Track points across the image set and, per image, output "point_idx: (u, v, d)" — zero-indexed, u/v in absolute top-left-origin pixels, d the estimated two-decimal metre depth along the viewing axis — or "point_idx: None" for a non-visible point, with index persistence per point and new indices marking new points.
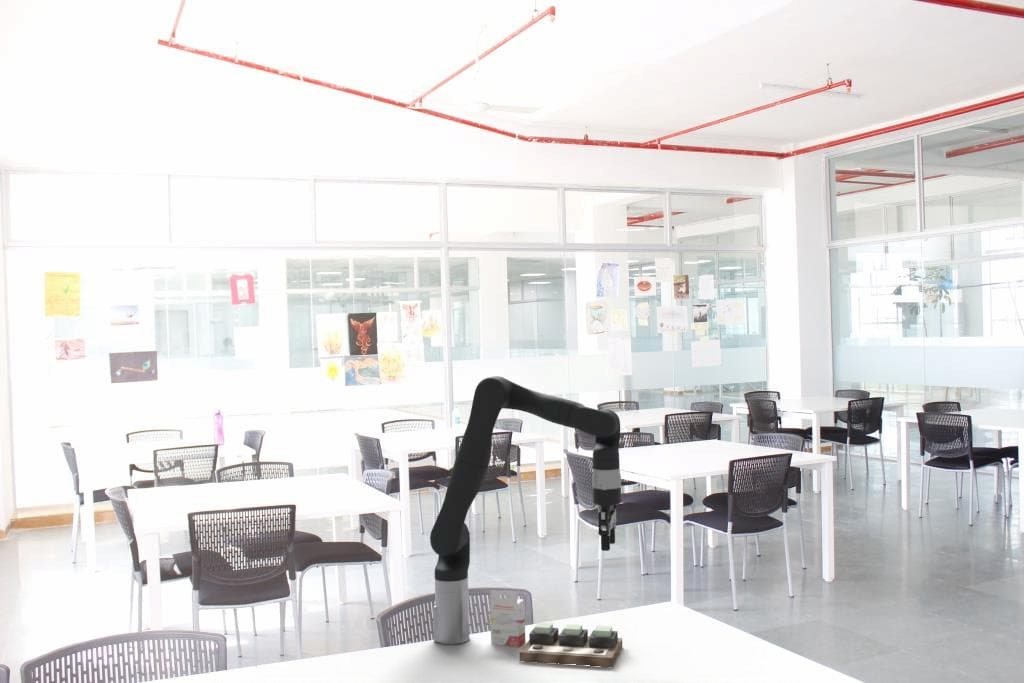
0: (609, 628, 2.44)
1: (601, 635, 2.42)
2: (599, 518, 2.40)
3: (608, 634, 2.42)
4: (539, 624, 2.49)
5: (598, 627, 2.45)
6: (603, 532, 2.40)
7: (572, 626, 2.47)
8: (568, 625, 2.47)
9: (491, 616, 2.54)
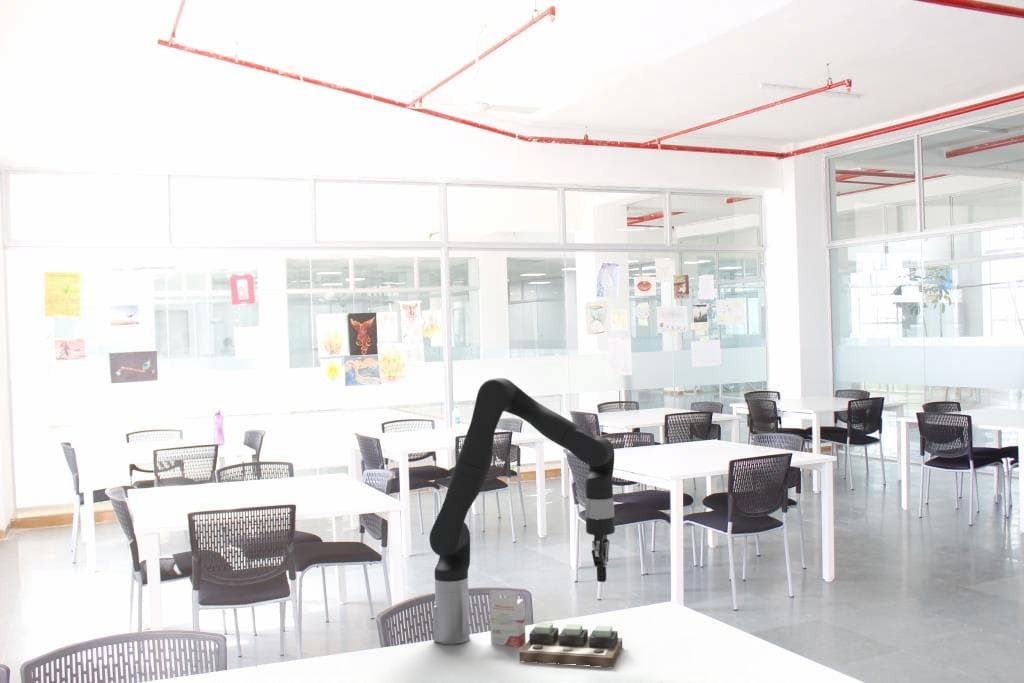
0: (609, 628, 2.44)
1: (601, 635, 2.42)
2: (593, 556, 2.39)
3: (608, 634, 2.42)
4: (539, 624, 2.49)
5: (598, 627, 2.45)
6: (599, 564, 2.41)
7: (572, 626, 2.47)
8: (568, 625, 2.47)
9: (491, 616, 2.54)
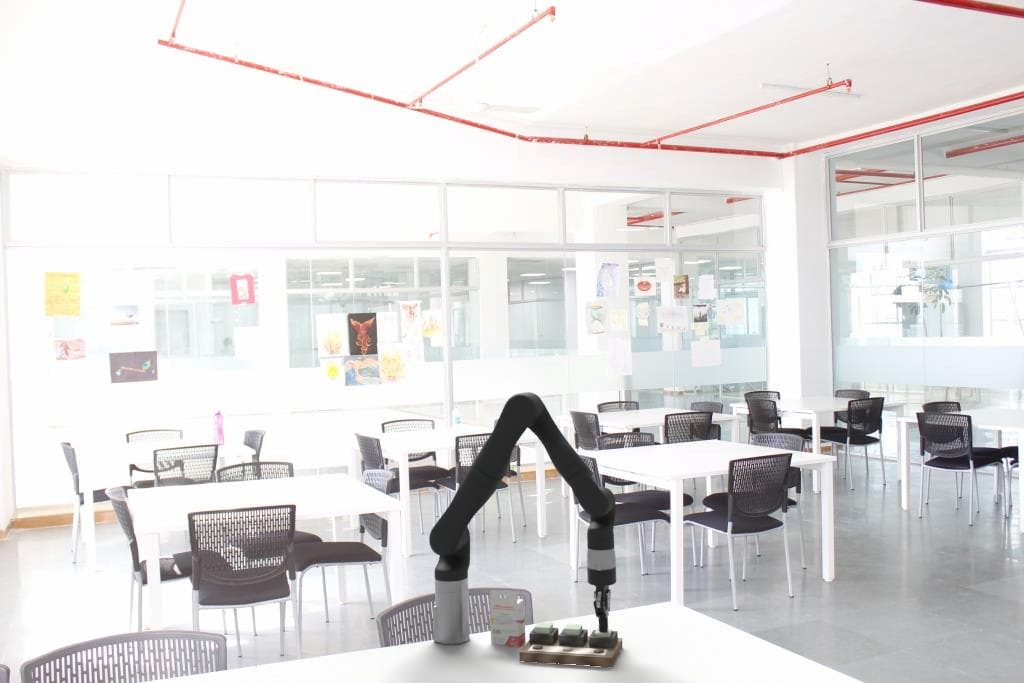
0: (609, 631, 2.44)
1: None
2: (595, 607, 2.39)
3: None
4: (539, 624, 2.49)
5: None
6: (600, 614, 2.41)
7: (572, 626, 2.47)
8: (568, 625, 2.47)
9: (491, 616, 2.54)
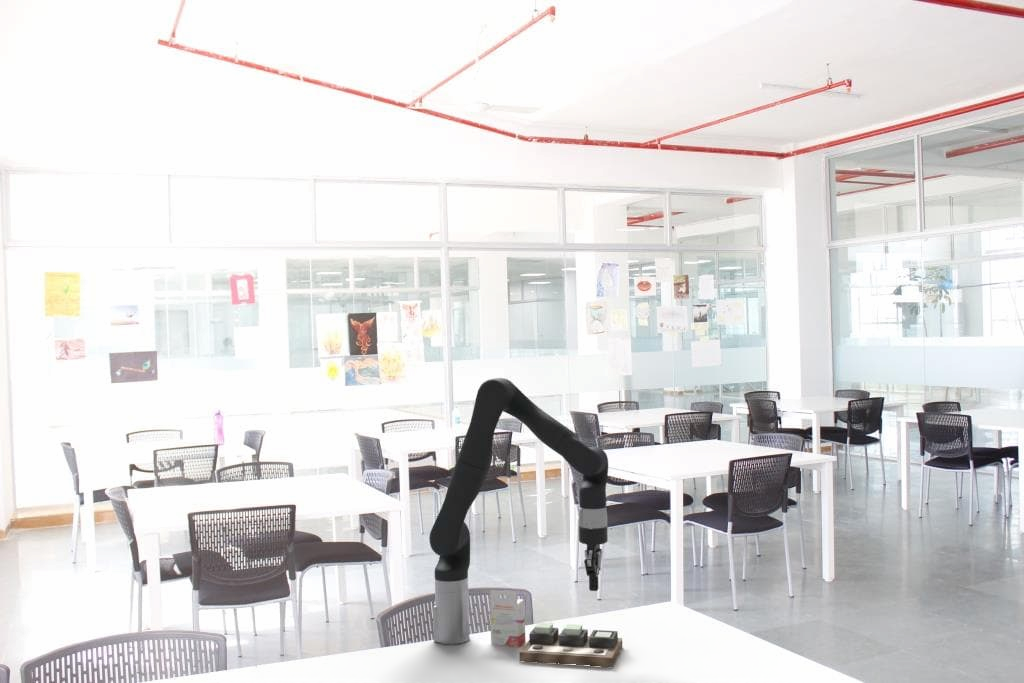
0: (609, 634, 2.44)
1: None
2: (586, 566, 2.40)
3: None
4: (539, 624, 2.49)
5: (599, 633, 2.45)
6: (591, 573, 2.42)
7: (572, 626, 2.47)
8: (568, 625, 2.47)
9: (491, 616, 2.54)
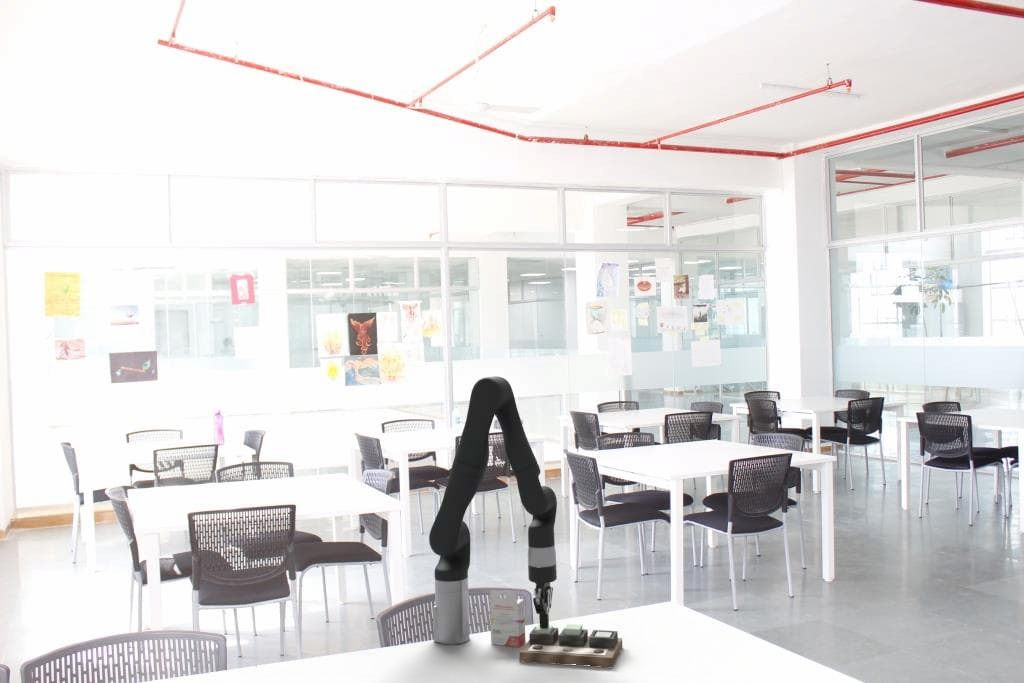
0: (609, 634, 2.44)
1: None
2: (535, 604, 2.43)
3: None
4: (539, 626, 2.49)
5: (599, 633, 2.45)
6: (540, 611, 2.45)
7: (572, 626, 2.47)
8: (568, 625, 2.47)
9: (491, 616, 2.54)
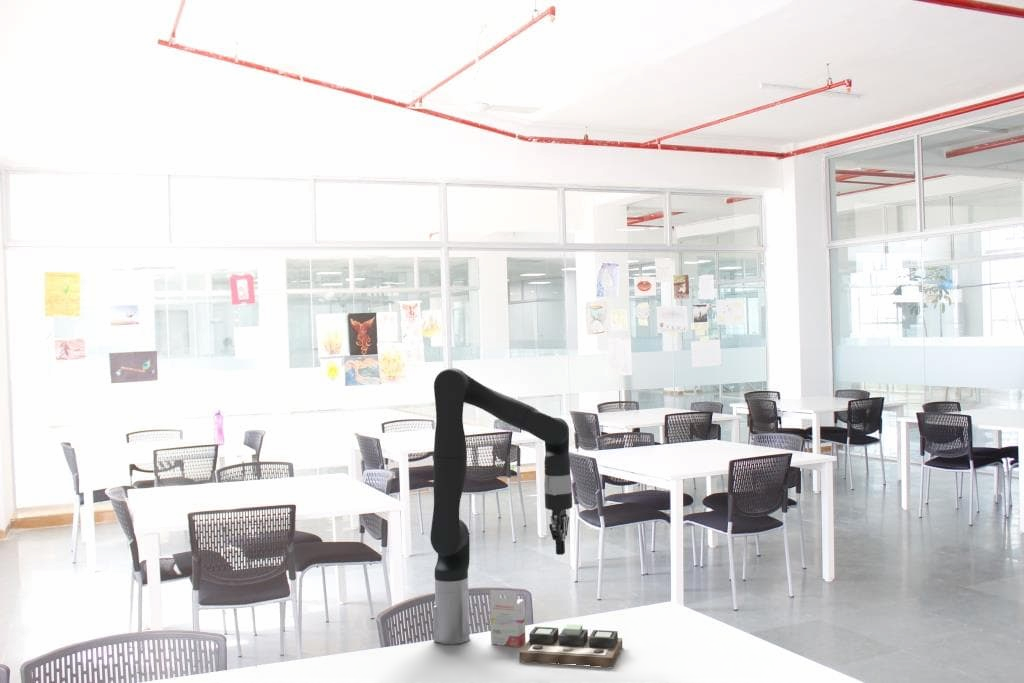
0: (609, 634, 2.44)
1: None
2: (551, 530, 2.51)
3: None
4: (539, 630, 2.49)
5: (599, 633, 2.45)
6: (556, 537, 2.53)
7: (572, 626, 2.47)
8: (568, 625, 2.47)
9: (491, 616, 2.54)
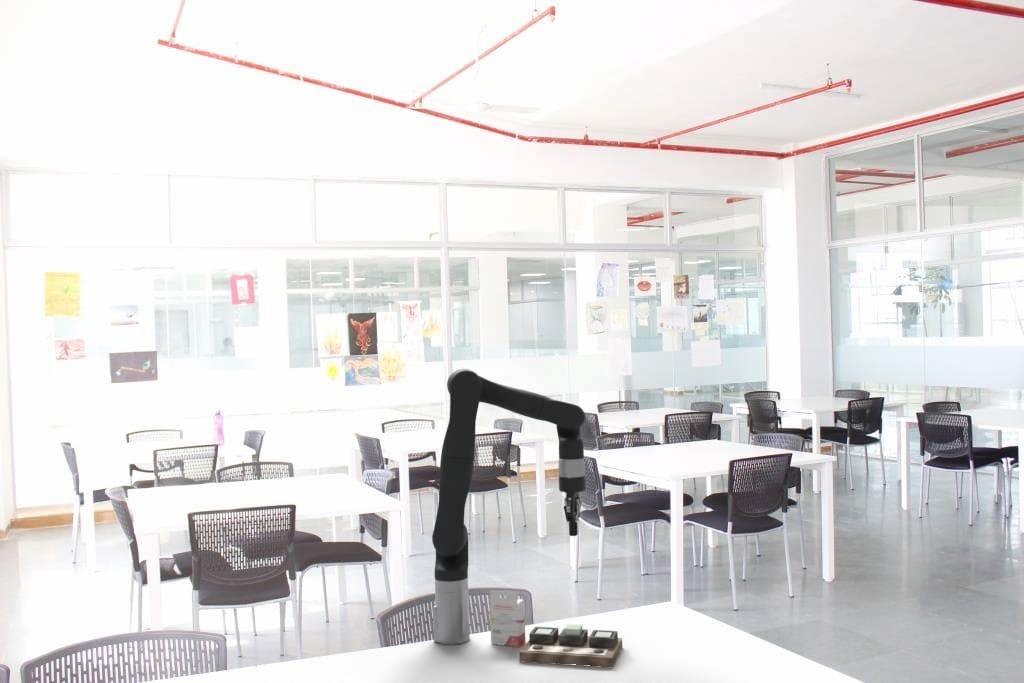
0: (609, 634, 2.44)
1: None
2: (565, 512, 2.59)
3: None
4: (539, 630, 2.49)
5: (599, 633, 2.45)
6: (570, 519, 2.61)
7: (572, 626, 2.47)
8: (568, 625, 2.47)
9: (491, 616, 2.54)
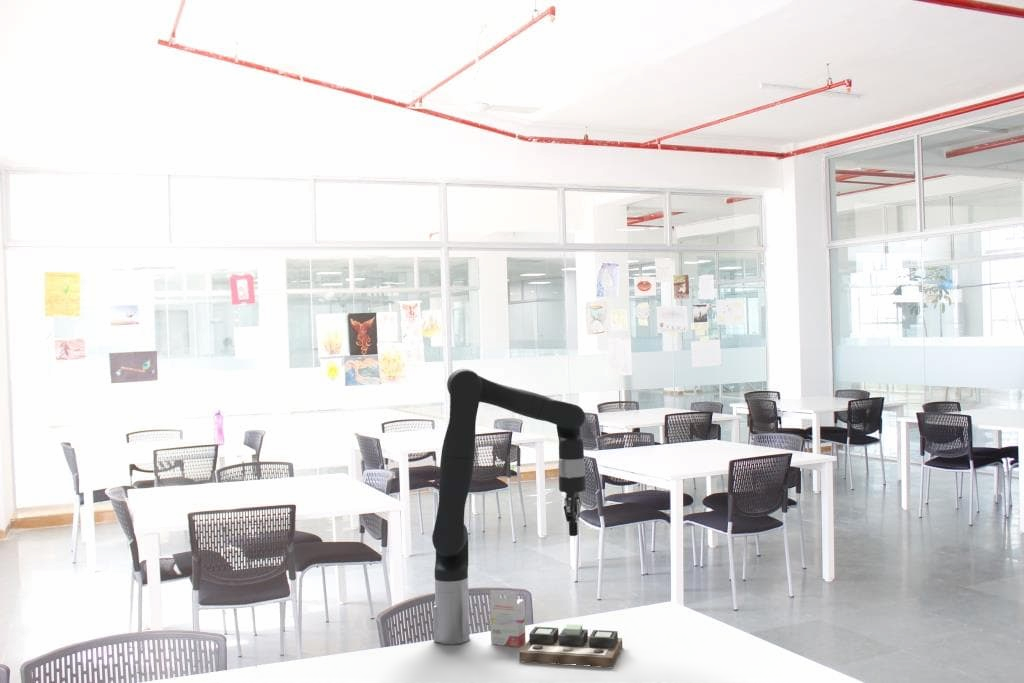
0: (609, 634, 2.44)
1: None
2: (565, 512, 2.59)
3: None
4: (539, 630, 2.49)
5: (599, 633, 2.45)
6: (570, 519, 2.61)
7: (572, 626, 2.47)
8: (568, 625, 2.47)
9: (491, 616, 2.54)
